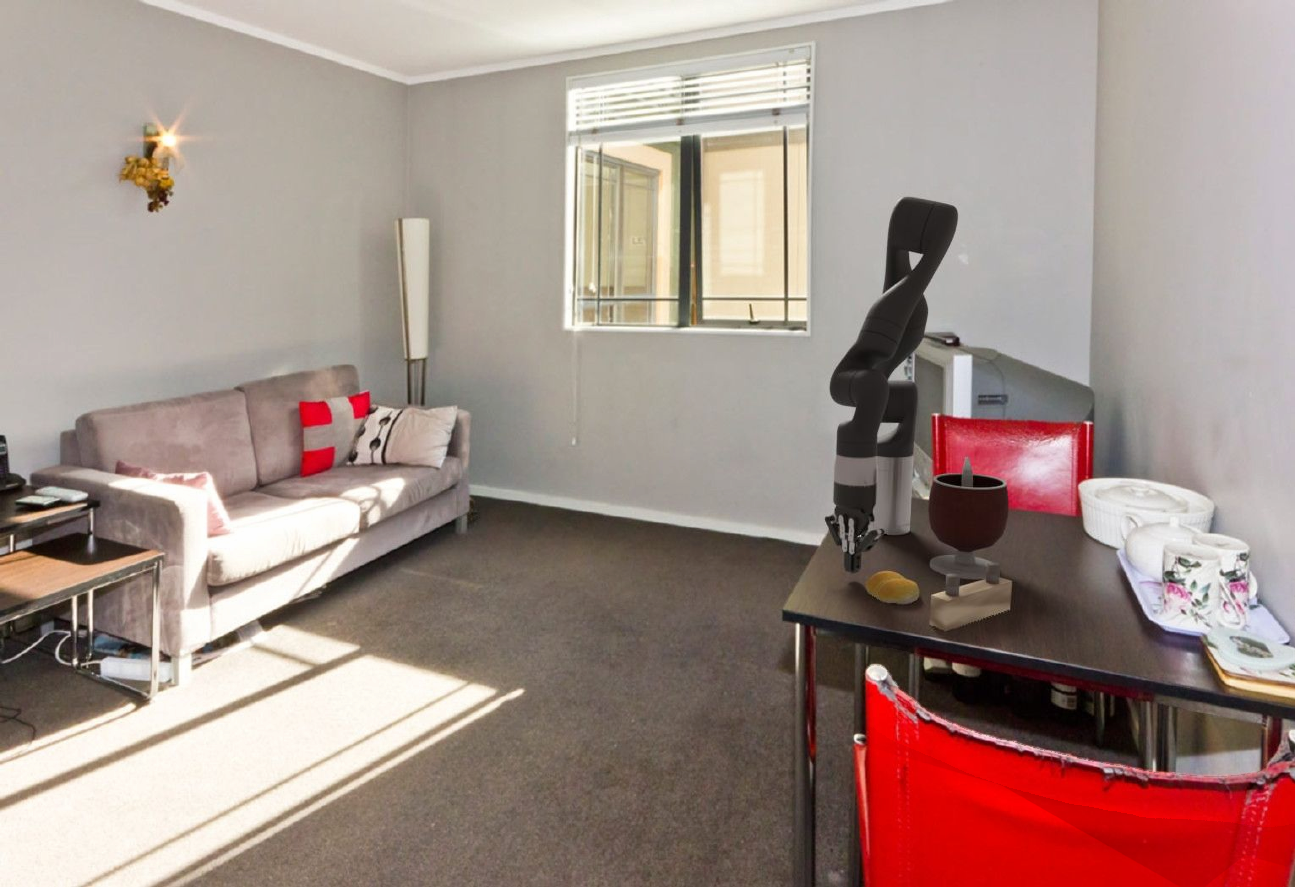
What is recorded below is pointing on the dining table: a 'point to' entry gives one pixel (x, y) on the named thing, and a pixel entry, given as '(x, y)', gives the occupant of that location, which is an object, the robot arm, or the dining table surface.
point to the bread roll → (892, 588)
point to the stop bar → (970, 599)
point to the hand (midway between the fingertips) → (851, 571)
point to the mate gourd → (967, 519)
